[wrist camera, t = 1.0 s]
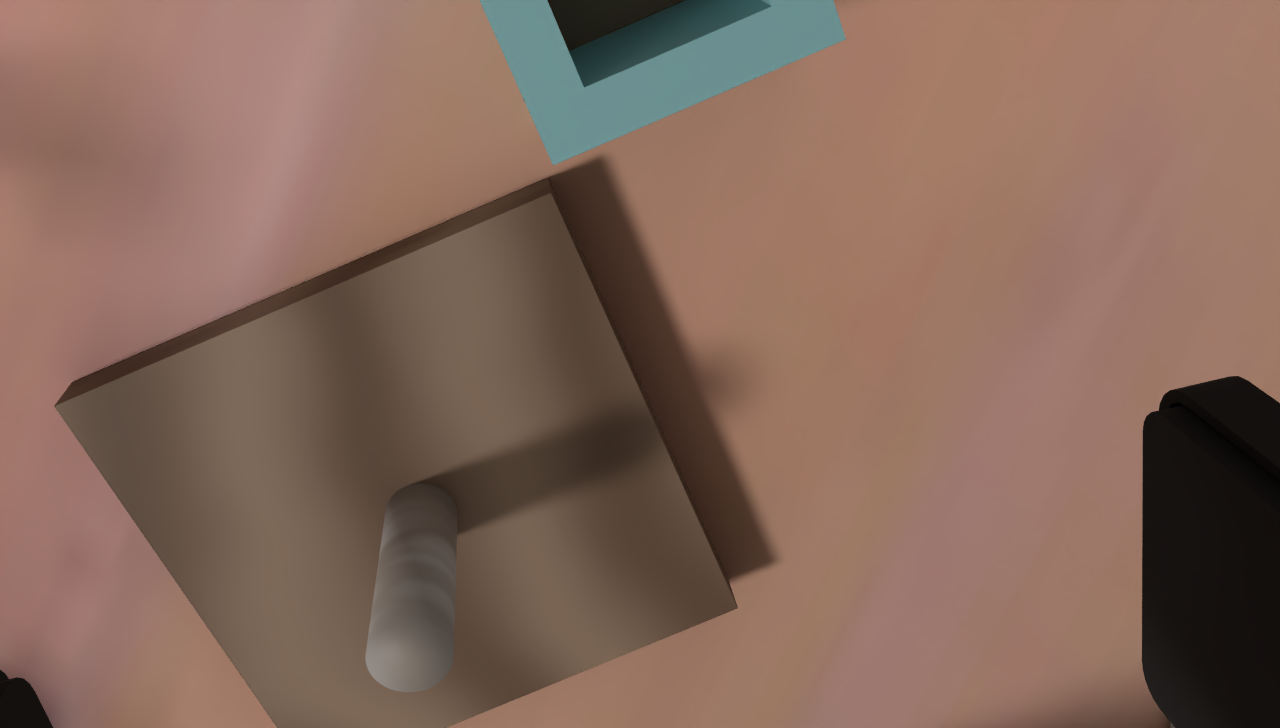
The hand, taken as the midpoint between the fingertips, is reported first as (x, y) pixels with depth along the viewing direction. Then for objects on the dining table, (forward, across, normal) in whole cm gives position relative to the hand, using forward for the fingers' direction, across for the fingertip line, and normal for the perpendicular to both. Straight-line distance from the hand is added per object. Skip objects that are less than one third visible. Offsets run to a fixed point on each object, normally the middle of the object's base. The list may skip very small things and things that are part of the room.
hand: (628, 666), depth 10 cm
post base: (+23, +5, +11) cm, 26 cm away
